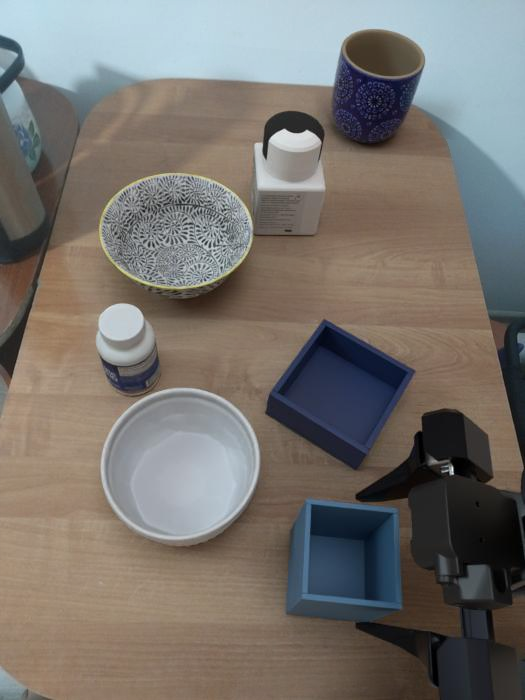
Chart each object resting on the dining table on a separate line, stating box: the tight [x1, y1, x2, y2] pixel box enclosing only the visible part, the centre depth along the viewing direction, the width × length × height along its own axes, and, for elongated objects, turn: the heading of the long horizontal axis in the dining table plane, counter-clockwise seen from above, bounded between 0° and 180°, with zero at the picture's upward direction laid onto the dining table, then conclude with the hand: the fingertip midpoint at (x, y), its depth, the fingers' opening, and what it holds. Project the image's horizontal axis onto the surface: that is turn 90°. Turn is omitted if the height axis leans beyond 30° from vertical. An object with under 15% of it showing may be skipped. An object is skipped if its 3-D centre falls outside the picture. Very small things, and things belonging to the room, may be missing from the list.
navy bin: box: [265, 318, 416, 471], centre depth 56 cm, size 10×10×4 cm
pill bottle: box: [95, 303, 161, 397], centre depth 53 cm, size 5×5×10 cm
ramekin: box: [99, 387, 262, 547], centre depth 49 cm, size 13×13×7 cm
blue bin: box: [285, 498, 403, 623], centre depth 45 cm, size 7×7×10 cm
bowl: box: [98, 172, 255, 300], centre depth 61 cm, size 16×16×8 cm
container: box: [250, 110, 327, 236], centre depth 65 cm, size 8×8×13 cm
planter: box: [330, 28, 426, 144], centre depth 76 cm, size 11×11×11 cm
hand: (358, 558), depth 42 cm, fingers open, 9 cm apart
